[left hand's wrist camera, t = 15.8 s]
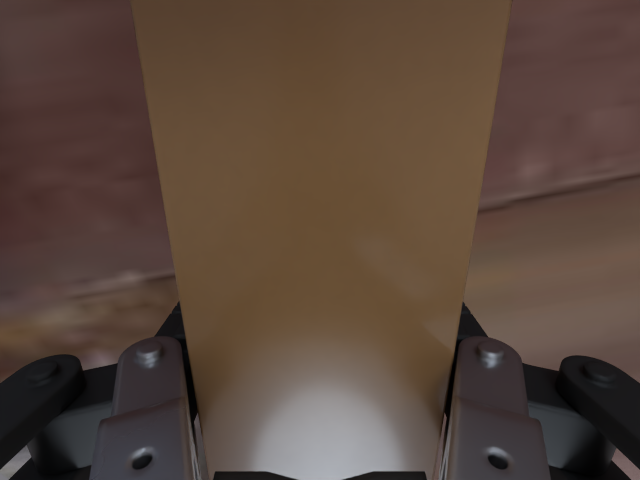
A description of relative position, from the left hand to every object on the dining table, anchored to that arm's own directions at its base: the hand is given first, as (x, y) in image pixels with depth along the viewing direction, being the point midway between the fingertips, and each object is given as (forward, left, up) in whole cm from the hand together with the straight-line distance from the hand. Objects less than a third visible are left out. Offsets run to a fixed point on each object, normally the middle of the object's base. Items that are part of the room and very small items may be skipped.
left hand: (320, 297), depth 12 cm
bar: (-7, +5, -4) cm, 9 cm away
